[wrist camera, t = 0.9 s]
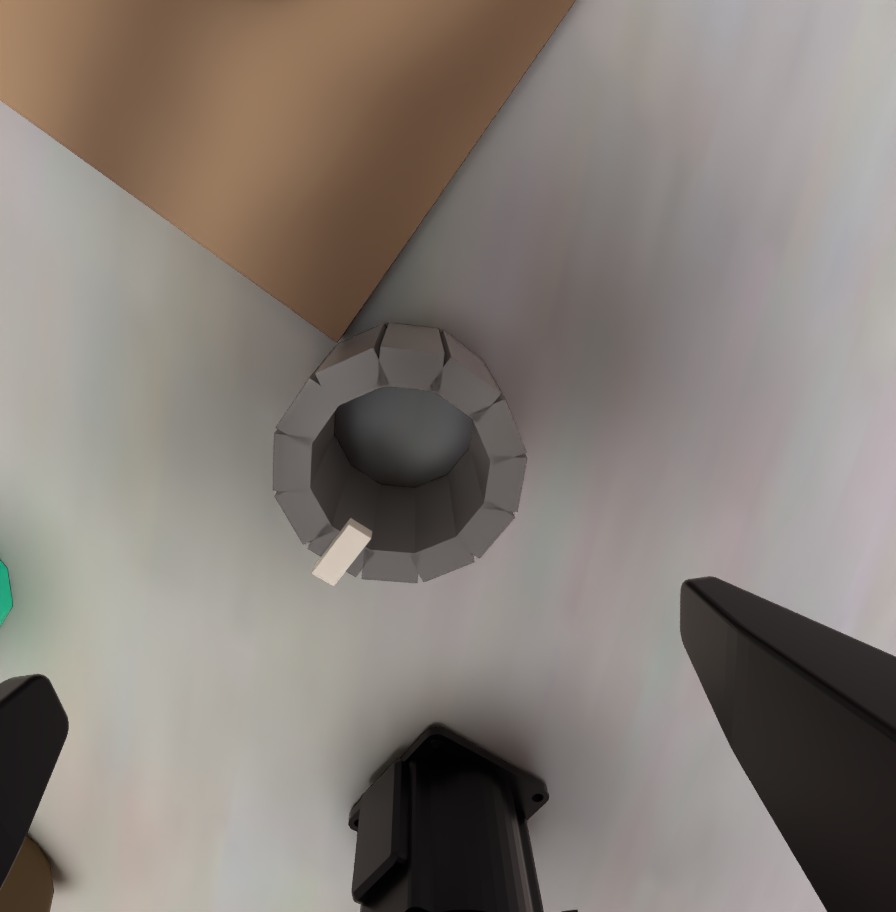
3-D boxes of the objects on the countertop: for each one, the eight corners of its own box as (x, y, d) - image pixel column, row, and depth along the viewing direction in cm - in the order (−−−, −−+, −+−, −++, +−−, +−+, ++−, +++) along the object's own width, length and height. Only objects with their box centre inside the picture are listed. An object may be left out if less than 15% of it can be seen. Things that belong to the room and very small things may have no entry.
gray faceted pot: (539, 403, 19) (578, 453, 14) (419, 549, 21) (420, 636, 16) (378, 281, 17) (365, 295, 13) (263, 451, 19) (213, 517, 14)
